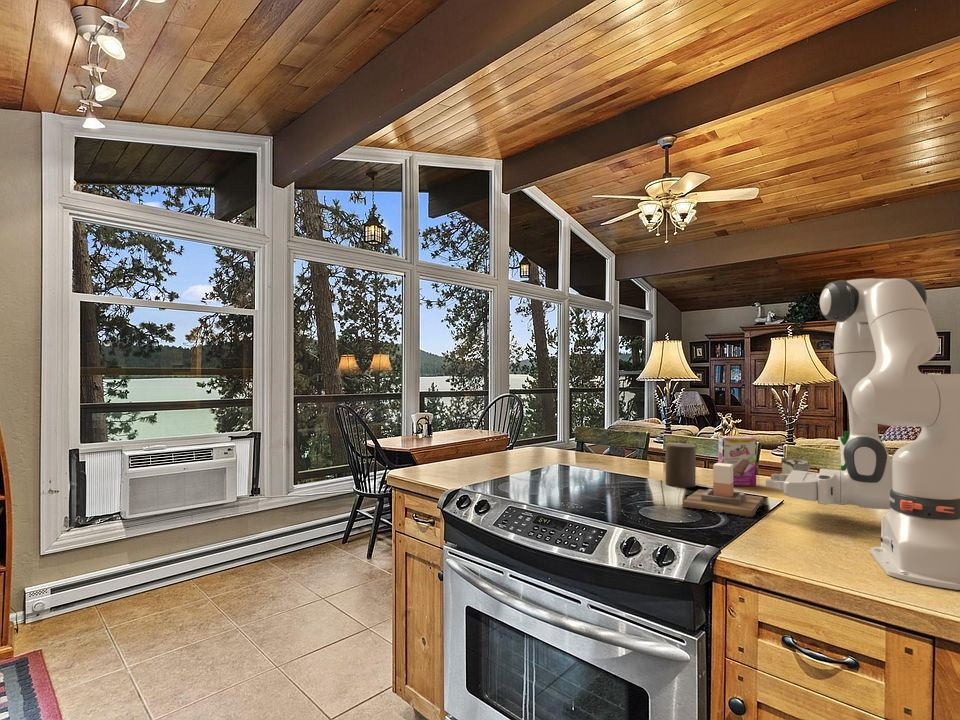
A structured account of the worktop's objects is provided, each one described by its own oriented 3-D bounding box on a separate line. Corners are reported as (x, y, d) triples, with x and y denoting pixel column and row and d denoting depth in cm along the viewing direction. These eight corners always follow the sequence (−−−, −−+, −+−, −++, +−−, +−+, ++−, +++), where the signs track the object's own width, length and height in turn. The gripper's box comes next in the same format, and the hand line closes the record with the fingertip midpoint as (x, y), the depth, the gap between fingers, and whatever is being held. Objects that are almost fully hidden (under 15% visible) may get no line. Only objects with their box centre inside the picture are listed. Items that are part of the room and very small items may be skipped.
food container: (816, 497, 167) (816, 464, 167) (794, 496, 169) (794, 464, 169) (801, 488, 179) (801, 457, 180) (781, 487, 181) (781, 457, 181)
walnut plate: (752, 518, 145) (752, 505, 145) (682, 508, 155) (682, 495, 155) (762, 503, 159) (762, 492, 159) (698, 495, 170) (698, 484, 170)
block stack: (730, 501, 154) (729, 466, 154) (713, 499, 157) (713, 465, 157) (733, 498, 158) (733, 464, 158) (716, 496, 160) (716, 462, 161)
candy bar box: (722, 486, 183) (722, 437, 183) (717, 483, 188) (717, 435, 188) (757, 486, 181) (757, 438, 182) (751, 483, 186) (751, 436, 187)
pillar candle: (672, 487, 181) (672, 442, 181) (661, 481, 190) (661, 438, 190) (700, 487, 181) (701, 443, 181) (688, 481, 191) (688, 438, 191)
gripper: (829, 468, 151) (773, 463, 159) (825, 480, 134) (762, 474, 142) (829, 490, 151) (773, 484, 159) (825, 506, 134) (763, 498, 142)
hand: (768, 480), depth 150 cm, fingers open, 8 cm apart
